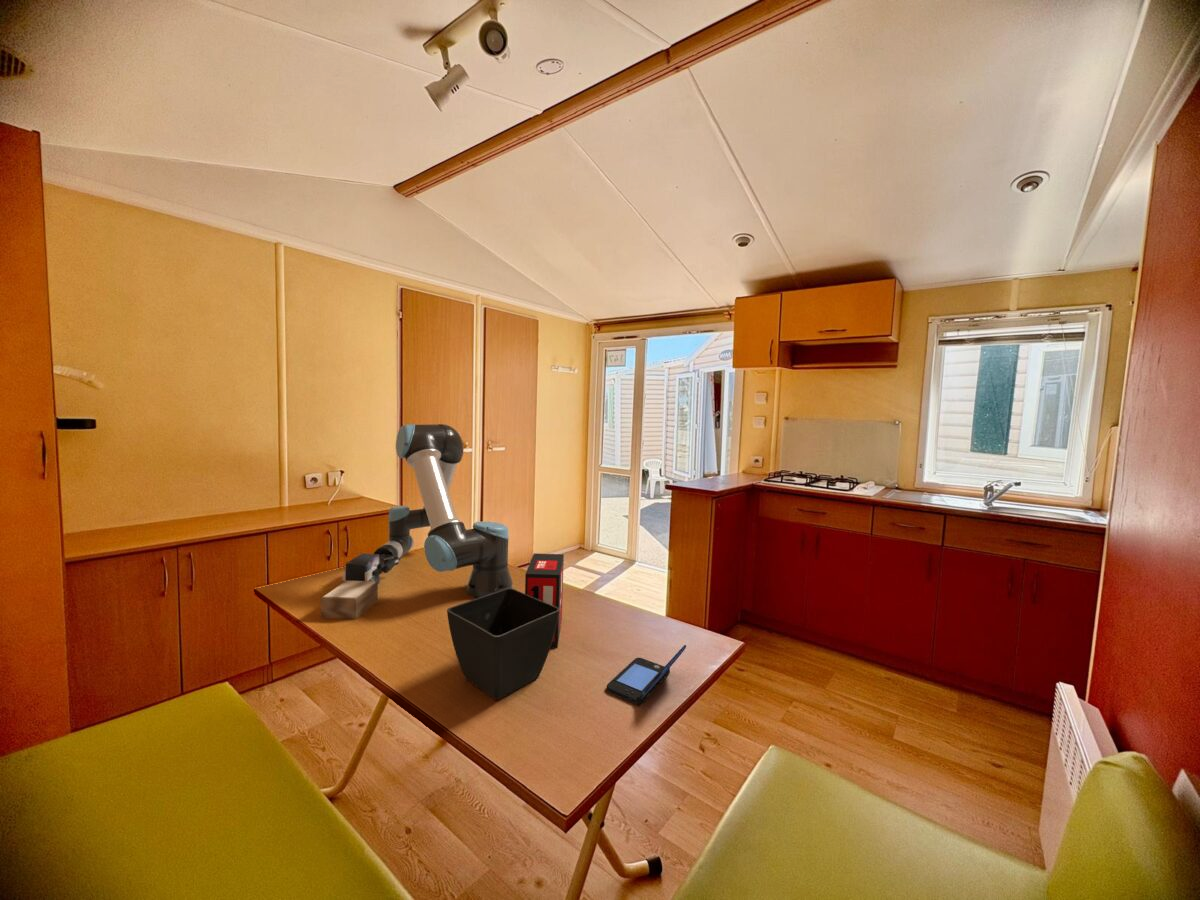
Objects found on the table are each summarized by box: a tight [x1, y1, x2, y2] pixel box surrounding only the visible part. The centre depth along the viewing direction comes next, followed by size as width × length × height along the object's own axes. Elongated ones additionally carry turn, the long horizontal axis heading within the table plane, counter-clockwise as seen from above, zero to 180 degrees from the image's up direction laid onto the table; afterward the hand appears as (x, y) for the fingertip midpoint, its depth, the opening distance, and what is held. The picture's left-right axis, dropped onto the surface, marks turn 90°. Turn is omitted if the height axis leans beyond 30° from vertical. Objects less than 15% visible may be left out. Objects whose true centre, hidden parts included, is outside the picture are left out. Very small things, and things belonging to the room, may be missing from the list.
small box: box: [345, 553, 380, 585], centre depth 153 cm, size 11×6×10 cm, turn 179°
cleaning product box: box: [524, 552, 565, 649], centre depth 128 cm, size 16×9×20 cm, turn 1°
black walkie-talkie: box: [606, 644, 687, 707], centre depth 106 cm, size 16×13×9 cm
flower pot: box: [446, 587, 560, 700], centre depth 106 cm, size 19×19×17 cm
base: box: [320, 580, 379, 620], centre depth 138 cm, size 10×13×6 cm
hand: (355, 576), depth 148 cm, fingers closed on small box, 6 cm apart
